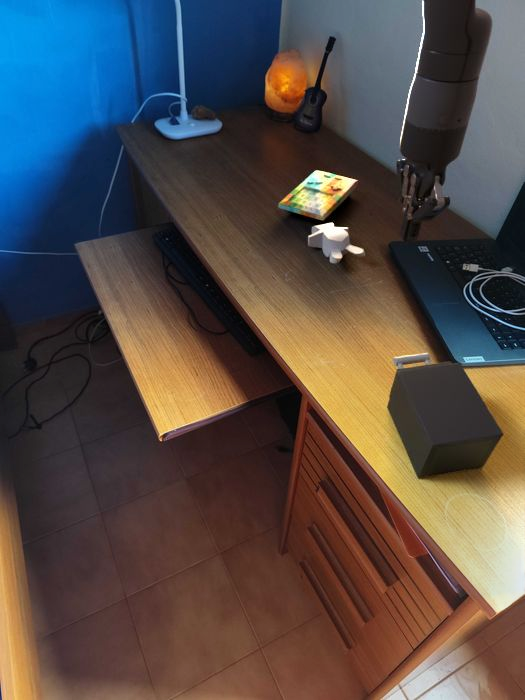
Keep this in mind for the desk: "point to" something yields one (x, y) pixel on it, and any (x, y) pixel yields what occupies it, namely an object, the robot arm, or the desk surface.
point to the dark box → (442, 420)
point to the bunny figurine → (333, 241)
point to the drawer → (414, 359)
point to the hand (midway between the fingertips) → (408, 238)
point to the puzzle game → (319, 195)
